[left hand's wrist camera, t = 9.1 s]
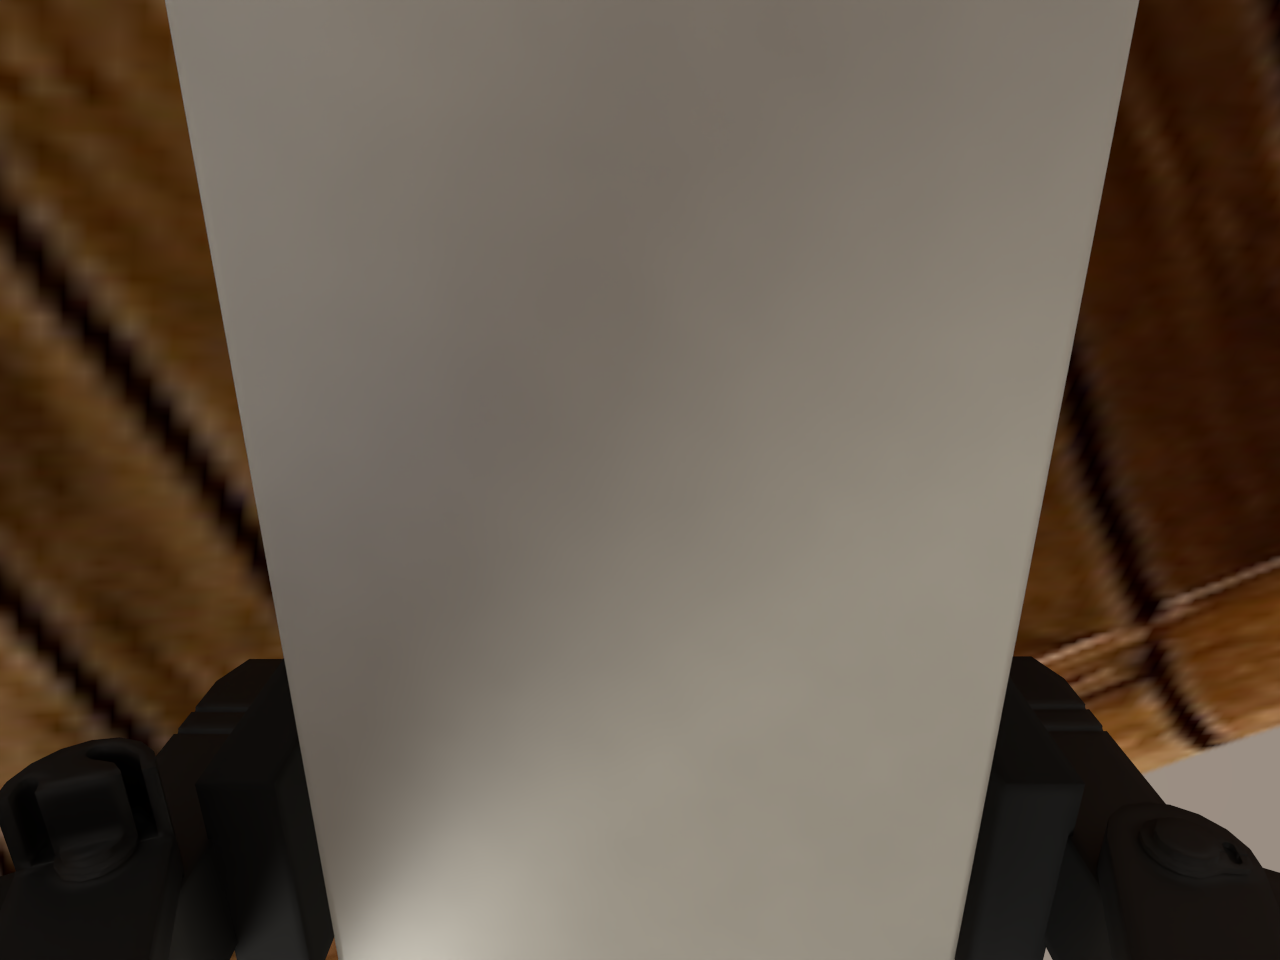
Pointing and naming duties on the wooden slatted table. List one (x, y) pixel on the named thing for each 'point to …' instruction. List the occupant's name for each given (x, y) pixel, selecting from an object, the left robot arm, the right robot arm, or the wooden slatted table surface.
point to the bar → (649, 443)
